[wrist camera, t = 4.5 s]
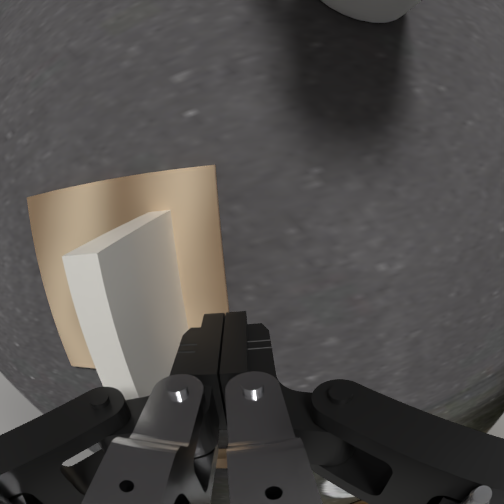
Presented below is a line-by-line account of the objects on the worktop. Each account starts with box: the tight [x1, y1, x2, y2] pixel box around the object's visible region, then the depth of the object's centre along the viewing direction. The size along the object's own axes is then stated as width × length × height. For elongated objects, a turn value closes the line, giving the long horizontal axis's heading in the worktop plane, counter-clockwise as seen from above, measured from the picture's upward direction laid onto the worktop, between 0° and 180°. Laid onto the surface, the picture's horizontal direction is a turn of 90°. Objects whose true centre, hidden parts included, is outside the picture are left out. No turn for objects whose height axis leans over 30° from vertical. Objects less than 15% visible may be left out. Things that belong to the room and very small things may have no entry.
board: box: [27, 165, 229, 369], centre depth 16 cm, size 12×12×1 cm
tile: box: [62, 210, 189, 400], centre depth 12 cm, size 1×8×8 cm, turn 4°
